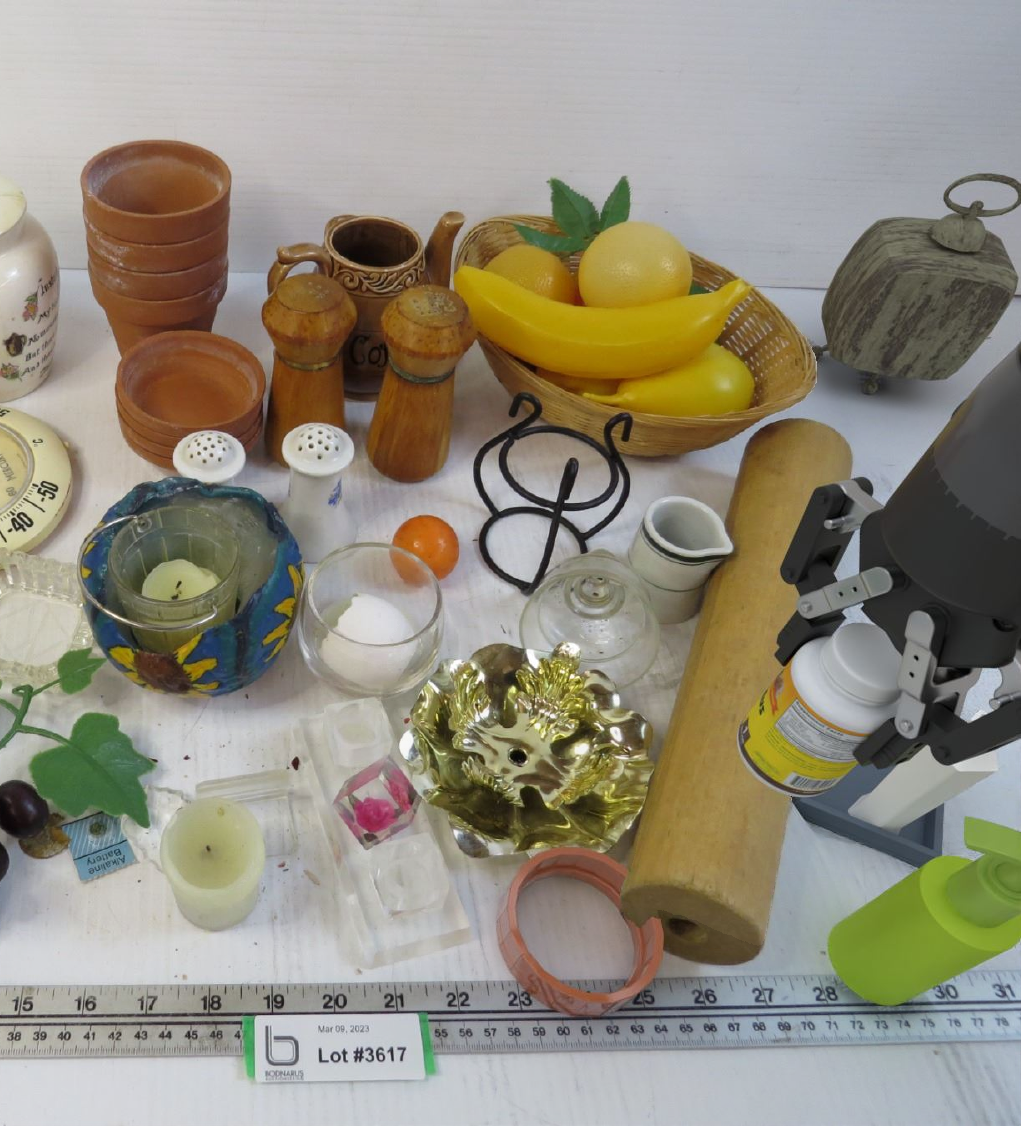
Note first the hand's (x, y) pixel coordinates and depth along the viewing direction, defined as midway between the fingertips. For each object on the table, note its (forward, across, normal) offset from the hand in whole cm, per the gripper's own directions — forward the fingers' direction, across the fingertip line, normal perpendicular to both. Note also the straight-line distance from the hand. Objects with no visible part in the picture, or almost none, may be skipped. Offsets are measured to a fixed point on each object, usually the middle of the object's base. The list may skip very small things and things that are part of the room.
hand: (830, 704), depth 50 cm
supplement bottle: (+6, 0, 0) cm, 6 cm away
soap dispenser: (+28, -9, -11) cm, 31 cm away
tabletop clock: (+27, +45, -57) cm, 77 cm away
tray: (+27, +4, -23) cm, 36 cm away
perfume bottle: (+27, 0, -20) cm, 34 cm away
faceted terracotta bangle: (+27, -1, +8) cm, 28 cm away
